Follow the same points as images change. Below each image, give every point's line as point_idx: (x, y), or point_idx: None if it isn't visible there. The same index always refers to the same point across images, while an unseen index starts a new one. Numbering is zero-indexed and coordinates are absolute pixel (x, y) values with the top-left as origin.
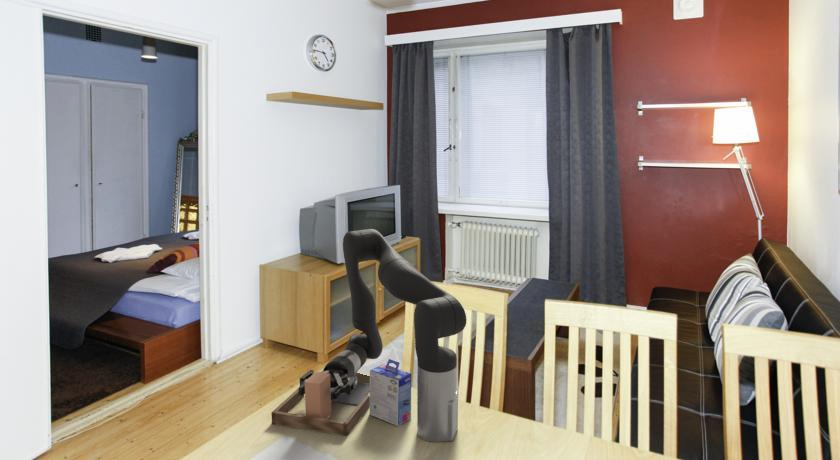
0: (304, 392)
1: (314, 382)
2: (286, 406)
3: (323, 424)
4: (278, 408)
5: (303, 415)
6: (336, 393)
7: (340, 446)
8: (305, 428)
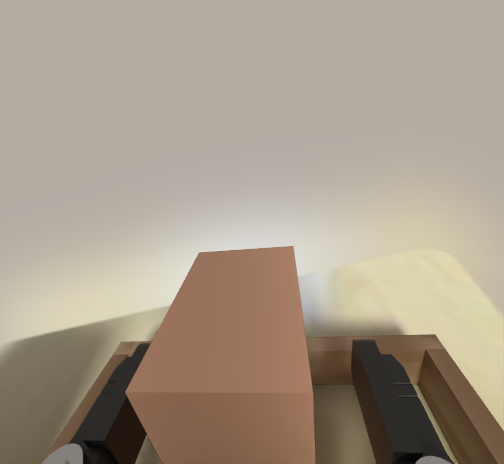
0: (361, 401)
1: (232, 255)
2: (479, 458)
3: None
4: (447, 371)
5: None
6: (123, 362)
7: (156, 325)
8: None
